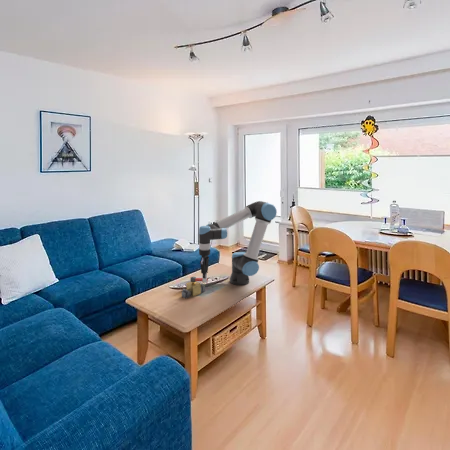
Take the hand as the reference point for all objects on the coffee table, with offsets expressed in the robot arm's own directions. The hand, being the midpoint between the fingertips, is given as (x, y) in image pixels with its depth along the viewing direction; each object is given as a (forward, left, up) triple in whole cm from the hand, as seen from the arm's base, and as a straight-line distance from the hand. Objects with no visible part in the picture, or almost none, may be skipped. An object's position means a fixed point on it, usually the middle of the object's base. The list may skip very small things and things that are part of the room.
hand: (204, 282), depth 218 cm
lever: (+3, -3, 0) cm, 5 cm away
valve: (+7, -5, -10) cm, 13 cm away
